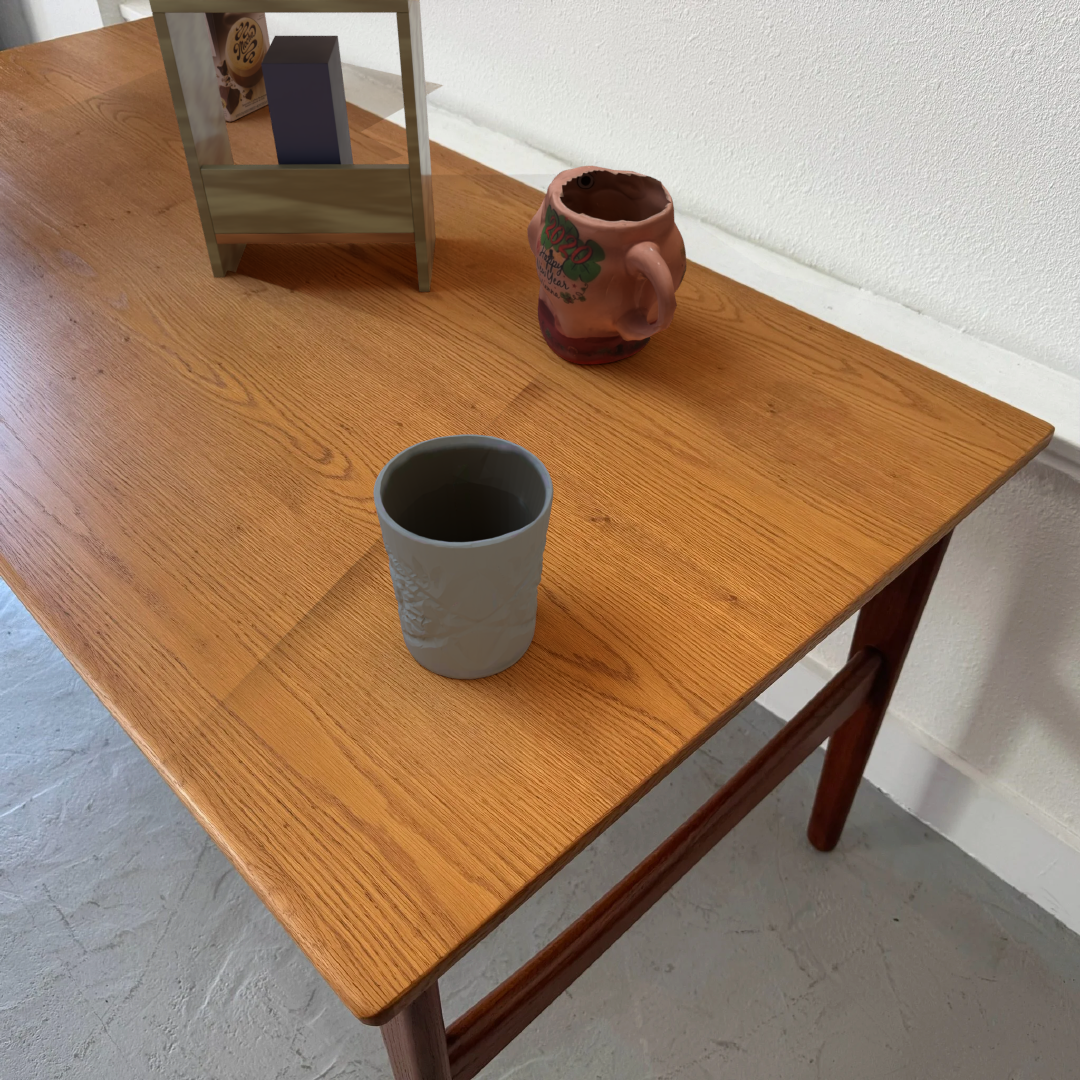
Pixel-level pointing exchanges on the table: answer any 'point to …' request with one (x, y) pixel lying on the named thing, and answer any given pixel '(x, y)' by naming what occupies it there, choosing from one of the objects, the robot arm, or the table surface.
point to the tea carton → (307, 100)
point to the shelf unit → (295, 189)
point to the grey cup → (465, 549)
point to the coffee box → (239, 60)
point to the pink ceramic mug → (605, 263)
